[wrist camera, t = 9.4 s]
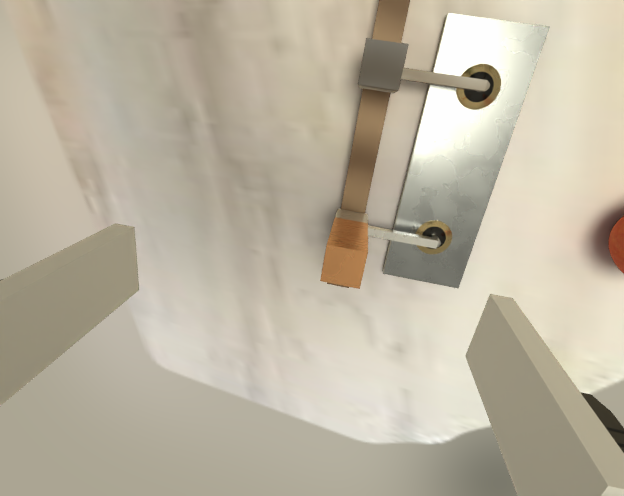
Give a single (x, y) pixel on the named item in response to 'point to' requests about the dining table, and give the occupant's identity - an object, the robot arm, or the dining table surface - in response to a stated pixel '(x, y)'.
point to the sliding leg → (358, 247)
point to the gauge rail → (385, 96)
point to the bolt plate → (462, 144)
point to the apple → (617, 244)
